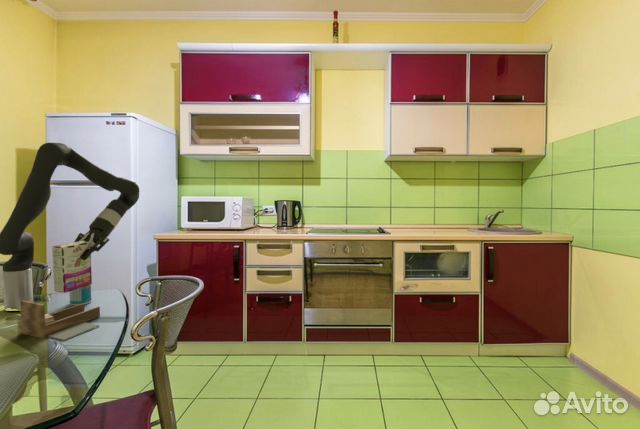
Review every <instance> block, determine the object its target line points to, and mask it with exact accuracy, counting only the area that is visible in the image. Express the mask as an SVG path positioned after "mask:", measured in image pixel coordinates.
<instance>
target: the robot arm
mask: <svg viewBox="0 0 640 429" xmlns="http://www.w3.org/2000/svg"><path fill="white" fill-rule="evenodd" d="M58 166H59V167H60V166H63V167H64V166H65V167H67V168H70V169H73V170H75V171H77V172H79V173H80V174H82V175H83V177H85V178H86V179H87V180H88V181H89V182H91V183H93V184H94V185H96V186H98V187H100V188H102V189H104V190H105V191H108V192H113V191H117V192H118V193H120V195H119V196H118V197H117V198H115V199H112V200H111V201H109V203H108V204H107V205H106V206H105V208H103V210H101V211H100V213H98V215H97V216H96V217H95V219H94V220H93V221H92V222H91V223H90V224H89V226H88V228H89V230H88V231H87V232H86V233H84V234H83V233H82V232H80V233H78V235H77V237H76V238H75V239H74V241H73V242H79V241H86V242H89V246H88V248H87V249H86V250H85V251H84V252H83V254H82V255H81V256H80V258H81V259H82V260H86V259H87V258H88V257H89V256H90V254H91V255H92V253H95V252H99V251H101V249H102V248H103V247H104V246H105V245H106V244H107V243H108V242H109V241H110V239H109V237H110V235H111V233H112V232H113V231H114V230H115V228H116V227H117V226H118V224H119V223H120V221H121V219H122V218H123V217H124V215H125V214H127V211H129V210H130V209H131V208H132V207H134V206H135V205H136V204H137V202H138V201H139V199H140V198H139V197H140V187H139V185H138V184H137V183H136V182H135V181H132V180H130V179H127V178H124V177H120V176H117V175H116V174H113V173H112V172H109V171H107V170H105V169H103V167H100V166H98V165H97V164H94V163H93V162H91V161H90V160H88V159H86V158H85V157H84V156H82V155H80V154H79V153H78V152H77V151H75V150H74V149H73V148H72V147H71V146H68V145H67V144H66V143H61V142H46V143H43V144H41V145H40V146H39V148H38V149H37V152H36V155H35V158H34V162H33V164H32V168H31V171H30V173H29V175H28V177H27V180H26V182H25V184H24V186H23V188H22V190H21V192H20V194H19V197H18V198H17V201H16V204H15V207H14V209H13V210H12V212H11V214H10V217H9V218H8V220H7V222H6V223H5V224H4V226H3V227H2V230H1V231H0V255H3V256H10V258H9V259H8V260H7V261H5V262H3V264H2V280H3V287H2V290H3V291H2V292H3V294H2V295H3V309H4V308H5V309H7V308H11V309H21V305H20V301H22V300H25V301H30V302H34V290H33V289H34V288H33V287H34V285H33V271H32V270H33V266H32V265H33V262H34V260H35V259H34V258H35V257H34V256H35V251H34V250H35V242H34V237H33V236H32V234H31V233H30V232H29V231H25V230H26V229H27V227H28V226H29V225H31V223H32V222H33V221H34V220H36V219H37V218H38V217H39V216H40V215H41V214H42V213H44V211H45V209H46V207H47V206H48V203H49V201H50V198H51V196H52V195H51V193H52V190H51V179H52V177H53V174H54V172H56V169H57V167H58ZM5 309H4V310H5Z"/></svg>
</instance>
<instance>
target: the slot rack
mask: <svg viewBox="0 0 640 429" xmlns="http://www.w3.org/2000/svg"><path fill="white" fill-rule="evenodd" d="M20 305H21V311H20V321H21V334H22V333H23V334H24V335H28V336H31V337H34V338H35V337H36V338H38V339H39V338H40V339H41V340H42V339H45V338H47V337H48V336H49V335H51V334H54V333H57V332H59V331H62V330H65V329H67V328H70V327H73V326H75V325H78V324H80V323H83V322H85V323H87V322H88V321H90V320H94V319H96V318H97V319H98V318H99V317H101V307H100V306H95V307H92V308H89V309H87V310H85V304H79V305H72V306H71V307H66V308H63V309H61V310H57V311H55V312H52V313H47V314H48V315H51V316H53V319H54V320H55V322H52V323H49V324H46V325H45V314H46V313H45V304H43V303H39V302H34V301H33V302H30V301H25V300H22V301H20Z"/></svg>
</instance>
